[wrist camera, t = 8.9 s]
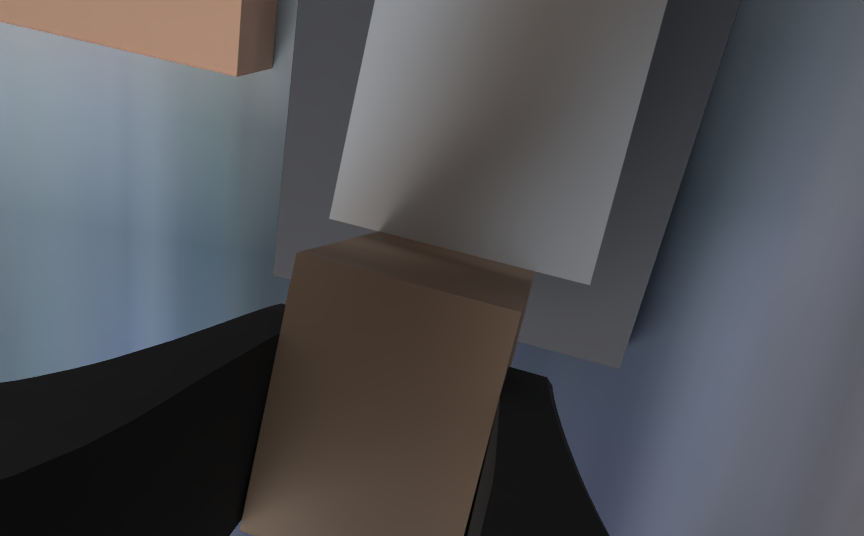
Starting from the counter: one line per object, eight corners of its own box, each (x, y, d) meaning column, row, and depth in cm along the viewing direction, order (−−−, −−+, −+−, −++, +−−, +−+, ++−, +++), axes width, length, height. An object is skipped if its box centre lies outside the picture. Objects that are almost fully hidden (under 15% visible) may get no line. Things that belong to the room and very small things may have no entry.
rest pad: (289, 261, 19) (273, 274, 18) (343, -271, 14) (324, -288, 14) (619, 349, 18) (619, 369, 17) (799, -204, 13) (812, -218, 12)
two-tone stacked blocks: (302, 402, 15) (175, 508, 10) (432, -209, 13) (353, -443, 8) (536, 471, 14) (520, 623, 9) (709, -165, 12) (805, -395, 7)
